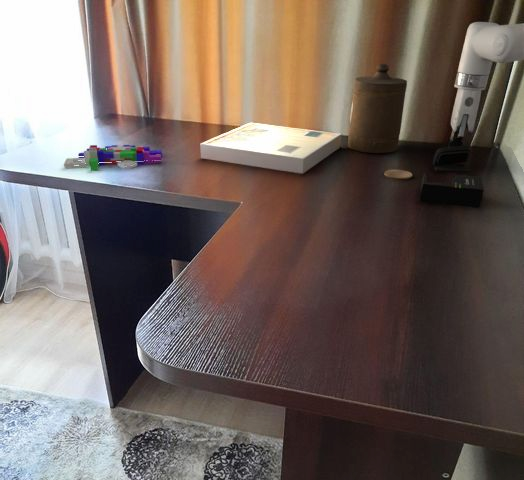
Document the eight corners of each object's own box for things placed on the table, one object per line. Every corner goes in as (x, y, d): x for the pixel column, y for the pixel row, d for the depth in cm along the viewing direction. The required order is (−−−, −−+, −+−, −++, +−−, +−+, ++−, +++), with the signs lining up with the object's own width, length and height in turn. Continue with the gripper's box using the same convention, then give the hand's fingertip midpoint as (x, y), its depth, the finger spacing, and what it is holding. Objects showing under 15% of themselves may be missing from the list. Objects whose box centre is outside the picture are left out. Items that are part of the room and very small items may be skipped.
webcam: (463, 165, 138) (469, 143, 134) (470, 172, 133) (476, 150, 129) (430, 165, 138) (434, 143, 135) (435, 171, 133) (440, 149, 130)
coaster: (411, 172, 132) (411, 170, 132) (412, 180, 127) (413, 178, 127) (384, 170, 133) (384, 168, 133) (384, 178, 128) (384, 176, 128)
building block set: (161, 147, 149) (159, 131, 146) (162, 168, 132) (160, 150, 130) (73, 150, 145) (69, 134, 142) (63, 171, 129) (59, 153, 126)
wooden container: (373, 139, 161) (383, 59, 148) (407, 149, 151) (422, 65, 138) (337, 144, 154) (345, 62, 142) (371, 156, 144) (382, 68, 131)
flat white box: (250, 122, 161) (341, 133, 150) (250, 135, 163) (340, 147, 152) (200, 143, 138) (303, 158, 128) (200, 158, 140) (302, 173, 130)
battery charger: (477, 194, 119) (481, 176, 116) (479, 207, 111) (484, 189, 109) (420, 188, 121) (423, 171, 119) (419, 201, 114) (422, 183, 112)
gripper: (491, 87, 120) (470, 166, 131) (482, 77, 132) (463, 150, 143) (458, 85, 121) (440, 163, 132) (452, 75, 133) (436, 148, 144)
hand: (452, 156), depth 137 cm, fingers closed
